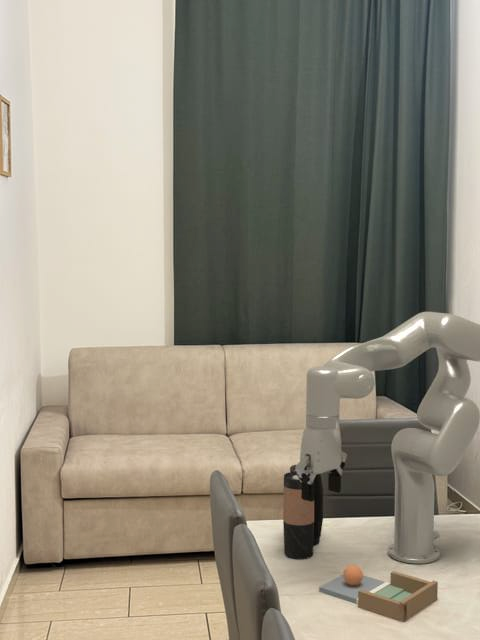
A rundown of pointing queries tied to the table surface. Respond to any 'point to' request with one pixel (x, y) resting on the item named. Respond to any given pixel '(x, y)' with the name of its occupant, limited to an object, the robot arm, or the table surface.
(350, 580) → the ball
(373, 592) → the lane
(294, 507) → the travel mug
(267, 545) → the table surface
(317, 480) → the portable speaker
